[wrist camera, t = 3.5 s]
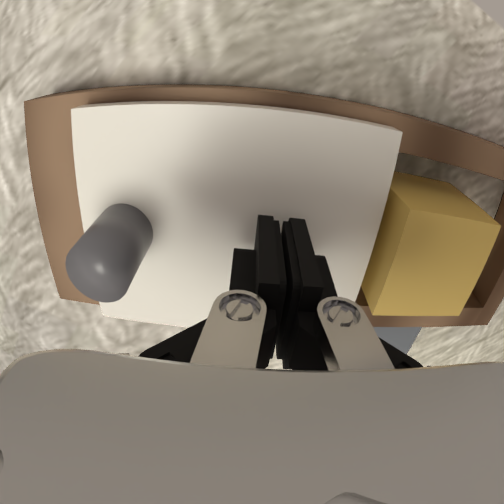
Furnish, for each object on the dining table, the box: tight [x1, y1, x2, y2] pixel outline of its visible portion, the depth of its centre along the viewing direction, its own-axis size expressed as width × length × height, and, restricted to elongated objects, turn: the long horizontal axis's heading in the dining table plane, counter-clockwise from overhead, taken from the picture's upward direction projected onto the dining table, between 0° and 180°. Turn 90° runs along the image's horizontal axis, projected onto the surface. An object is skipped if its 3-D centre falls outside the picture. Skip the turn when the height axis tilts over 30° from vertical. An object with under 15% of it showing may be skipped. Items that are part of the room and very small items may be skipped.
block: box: [361, 171, 501, 316], centre depth 14 cm, size 5×5×5 cm
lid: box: [65, 101, 403, 327], centre depth 12 cm, size 12×10×4 cm
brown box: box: [24, 84, 504, 327], centre depth 15 cm, size 27×11×2 cm, turn 85°
